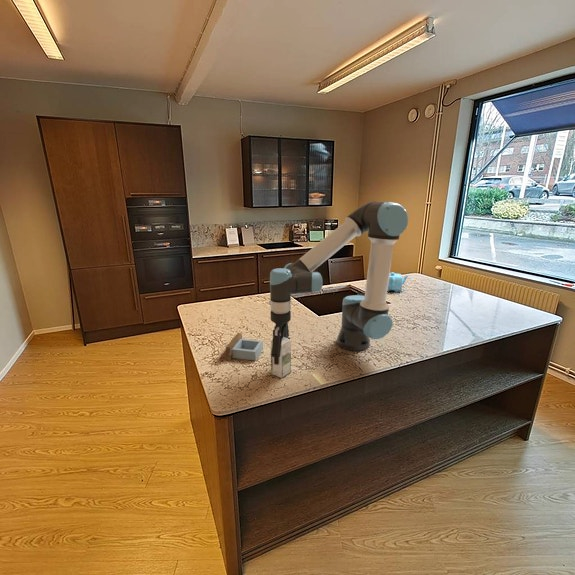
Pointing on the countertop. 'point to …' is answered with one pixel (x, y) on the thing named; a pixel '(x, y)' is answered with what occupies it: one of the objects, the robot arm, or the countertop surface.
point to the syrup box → (283, 358)
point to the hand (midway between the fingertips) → (281, 362)
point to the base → (231, 347)
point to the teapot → (396, 282)
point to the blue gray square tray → (247, 349)
